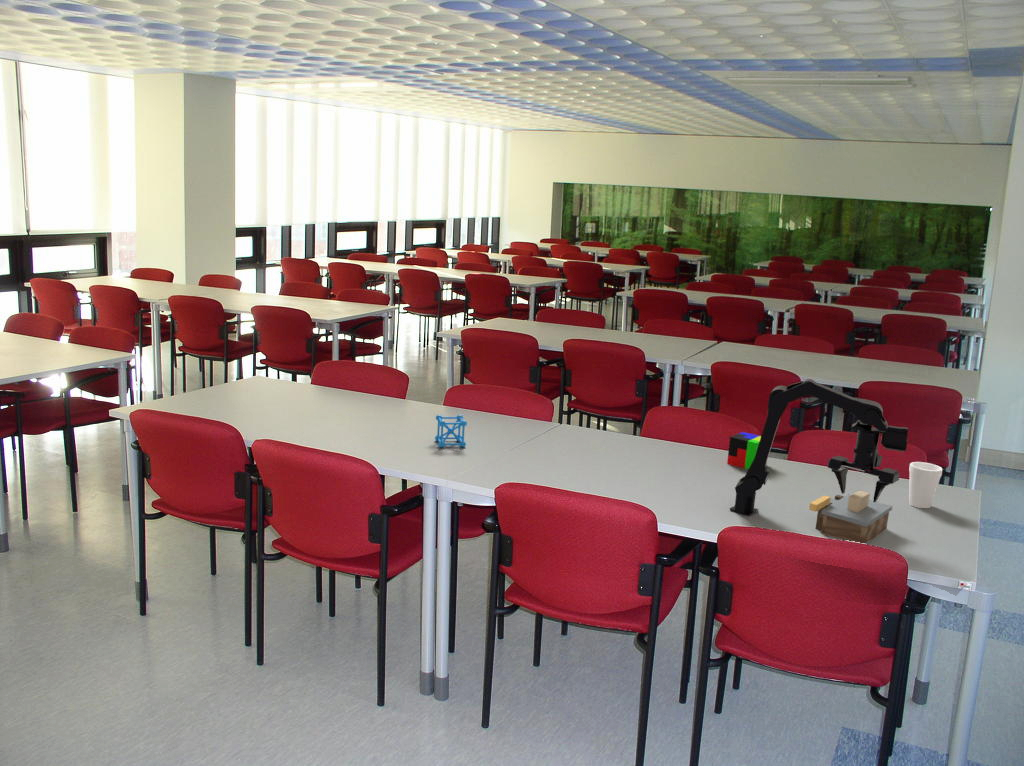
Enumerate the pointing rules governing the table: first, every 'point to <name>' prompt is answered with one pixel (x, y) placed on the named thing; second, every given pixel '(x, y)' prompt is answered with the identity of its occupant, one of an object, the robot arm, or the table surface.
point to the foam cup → (923, 483)
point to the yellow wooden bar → (819, 503)
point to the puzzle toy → (743, 449)
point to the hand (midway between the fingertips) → (858, 497)
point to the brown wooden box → (849, 527)
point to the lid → (856, 509)
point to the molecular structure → (450, 431)
